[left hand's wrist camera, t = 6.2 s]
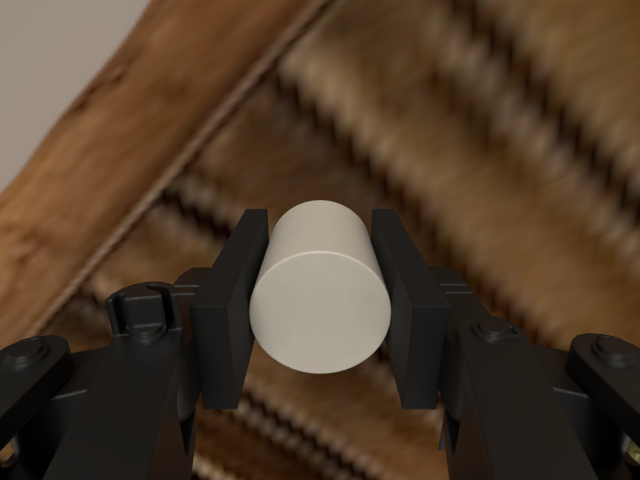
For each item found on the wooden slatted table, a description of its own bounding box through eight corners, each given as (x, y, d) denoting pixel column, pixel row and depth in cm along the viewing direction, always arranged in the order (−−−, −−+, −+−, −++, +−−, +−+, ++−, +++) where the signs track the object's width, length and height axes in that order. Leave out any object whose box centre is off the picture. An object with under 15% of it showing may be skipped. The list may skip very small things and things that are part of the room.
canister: (257, 213, 14) (228, 270, 10) (358, 188, 14) (376, 235, 9) (286, 301, 15) (272, 386, 11) (378, 280, 15) (403, 359, 11)
